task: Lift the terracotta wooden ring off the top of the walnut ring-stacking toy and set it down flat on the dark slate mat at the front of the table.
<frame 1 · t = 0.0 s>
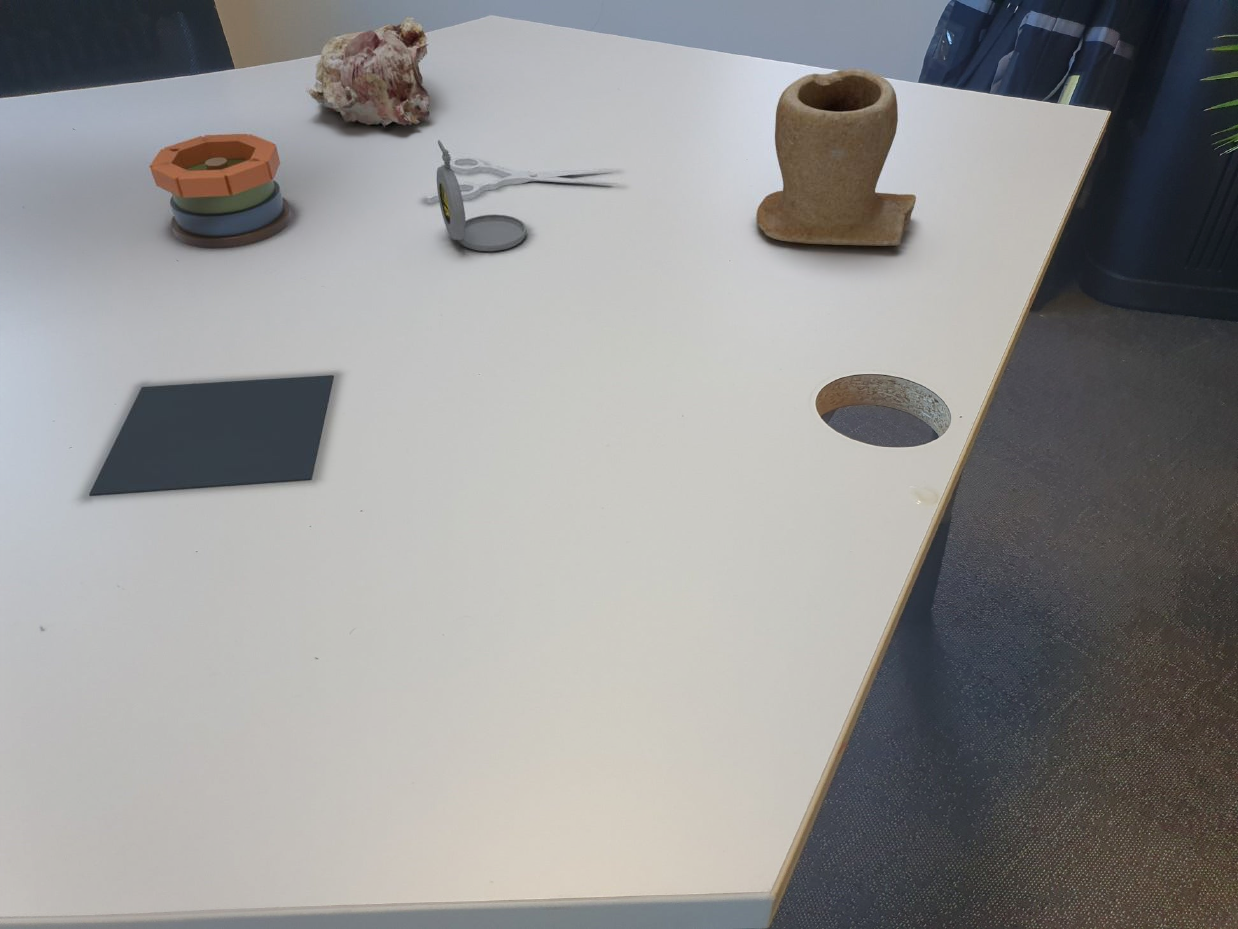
scissors: (526, 183, 97), on the table
ring: (219, 173, 85), point 5 cm above the table, touching stack
stack: (234, 224, 89), on the table
mineral formation: (376, 110, 114), on the table
pocket watch: (479, 242, 86), on the table
stone cup: (832, 239, 87), on the table
mat: (222, 434, 63), on the table
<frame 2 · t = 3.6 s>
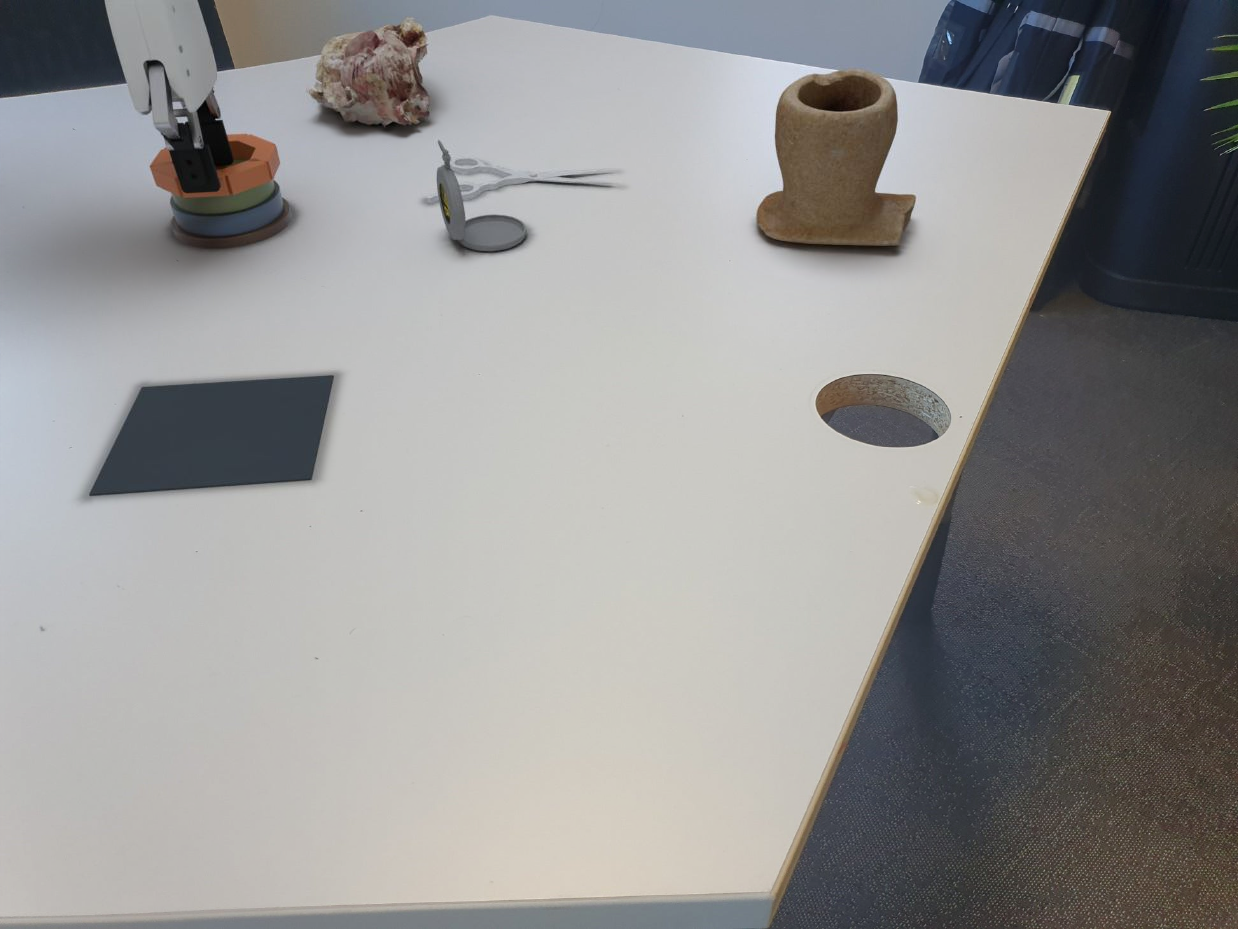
hand: (209, 175, 81), 7 cm above the table, tool pointing down, fingers open, 5 cm apart
nothing on the table moved.
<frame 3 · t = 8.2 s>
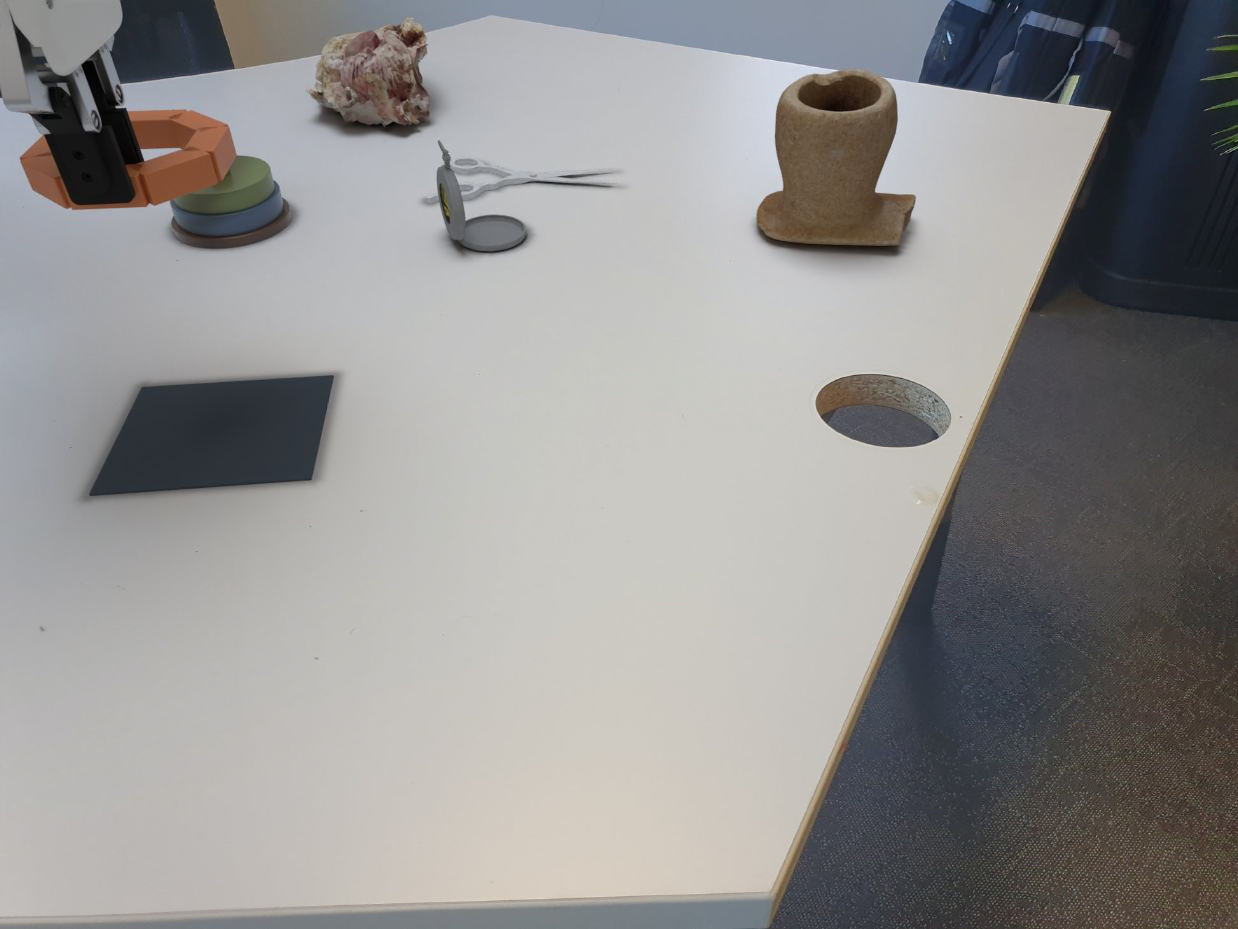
hand: (112, 189, 50), 19 cm above the table, tool pointing down, fingers closed on ring
ring: (138, 171, 54), point 18 cm above the table, touching gripper
everything else where it was.
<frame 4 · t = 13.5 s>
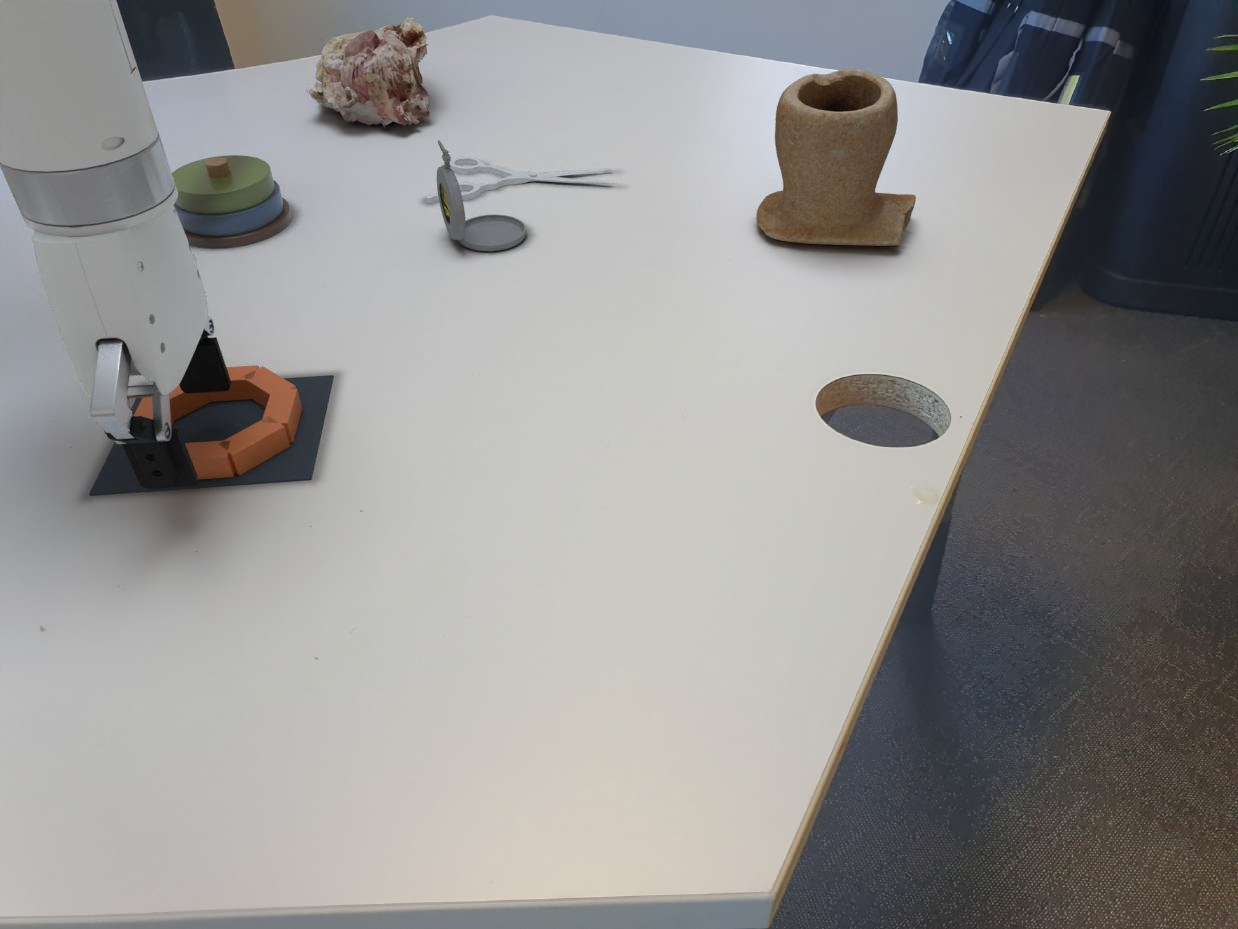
hand: (190, 434, 58), 3 cm above the table, tool pointing down, fingers open, 9 cm apart
ring: (221, 430, 63), resting on mat
everything else where it was.
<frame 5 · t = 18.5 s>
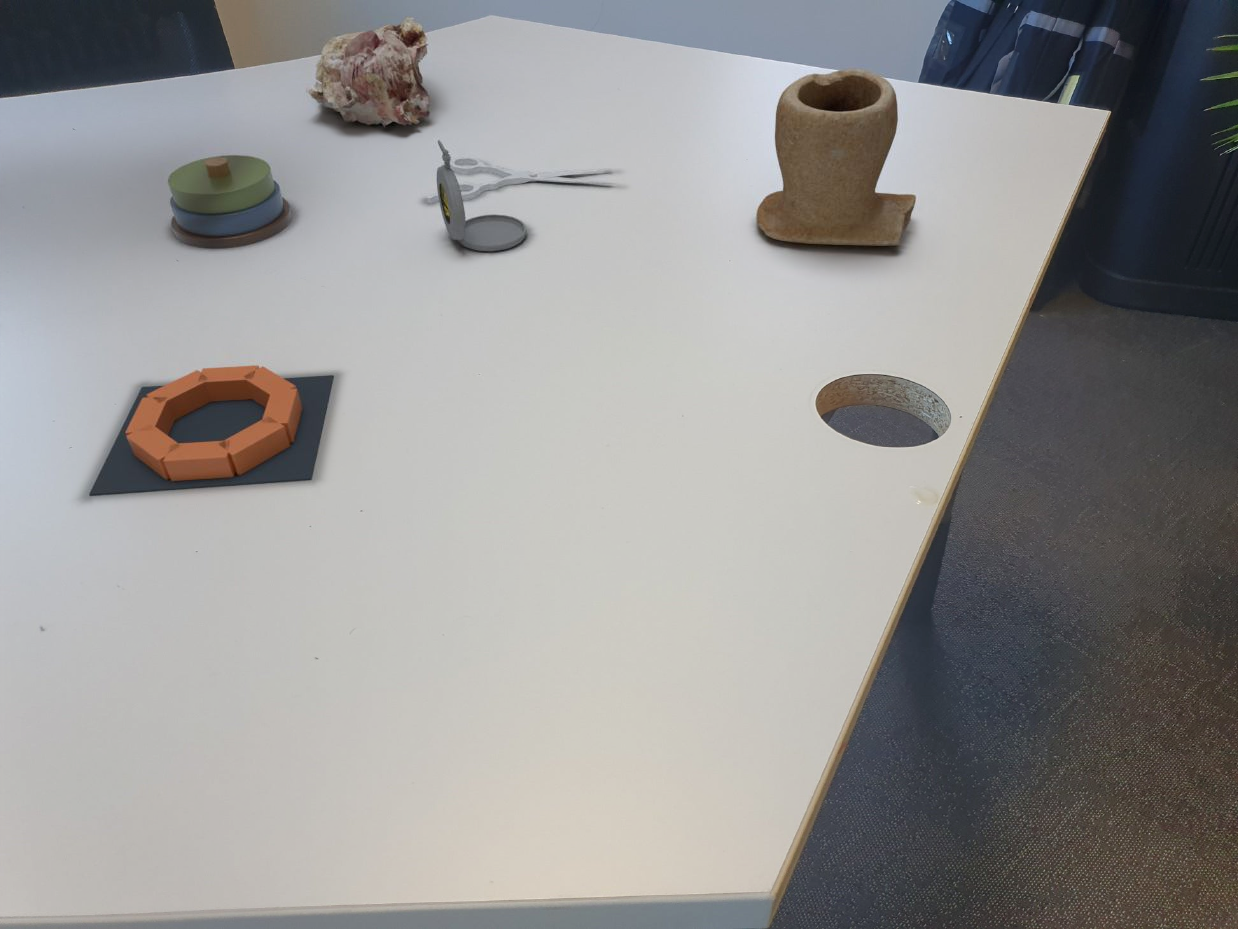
nothing on the table moved.
at the end: ring inside the target area on the mat (0.1 cm from its centre), point 0.4 cm above the mat's base; ring tilted 0°; the gripper is holding nothing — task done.
